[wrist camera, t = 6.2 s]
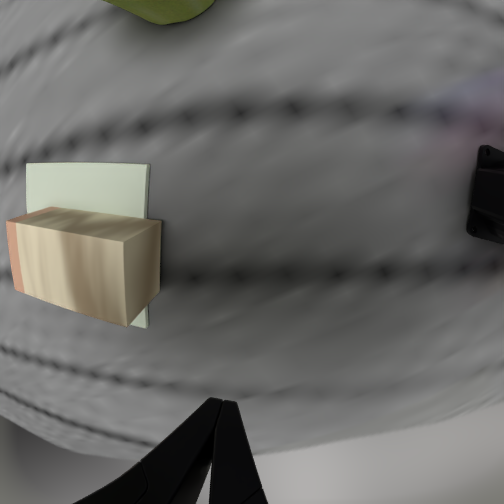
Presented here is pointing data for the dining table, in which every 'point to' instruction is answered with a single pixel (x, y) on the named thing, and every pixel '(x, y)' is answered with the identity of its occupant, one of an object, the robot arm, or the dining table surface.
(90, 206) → the sage mat
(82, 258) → the birch block
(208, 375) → the dining table surface
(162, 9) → the plant pot
